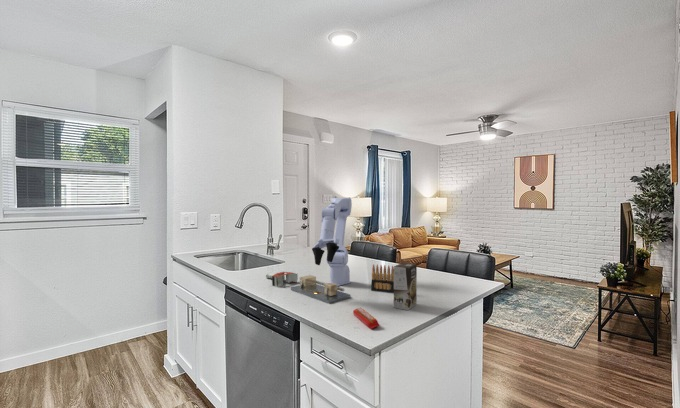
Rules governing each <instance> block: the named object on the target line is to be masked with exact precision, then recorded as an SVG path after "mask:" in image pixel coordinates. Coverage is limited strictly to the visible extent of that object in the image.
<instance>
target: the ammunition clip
mask: <svg viewBox="0 0 680 408" xmlns="http://www.w3.org/2000/svg"><path fill="white" fill-rule="evenodd" d="M383 265H384V266H382V264H380V267H379V265H378V264H376V266H375V264H372V268H371V284H370V285H371V286H370V288H371V289H370V291H371V292H380V293H392V294H394V265H392V266H391V268H390V265H388V266H387V267H386V264H383Z"/></svg>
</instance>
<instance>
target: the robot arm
mask: <svg viewBox="0 0 680 408" xmlns="http://www.w3.org/2000/svg"><path fill="white" fill-rule="evenodd" d="M330 202H331V203H330V204H329V205H327V207H324V209H323V208H322V210H321V221H320V222H321V228H320V235H319V238H318V239H317V242H316V244H314V245H313V247H312V248H311V250H312V253H313V256H314V263H315V265H317V266H321V264H322V263H321V261H322V258H323V255H324V253H325V252H326V263H327V265H328V266H329V281H326V282H325V283H334V284H337V287H340V286H343V285H347V284H351V283H352V281H350V280H351V279H350V276H351V275H350V267H349V265H348V262H349V252H348V249H347V248H346V247H345V246H344V243H345V242H344V241H345V233H346V224H347V219H348V217H349V216H350V215H351V213H352V204H353V203H352V198H351V197H335V196H334V197H332V198H331V200H330ZM323 248H326V251H325V250H324V249H323Z"/></svg>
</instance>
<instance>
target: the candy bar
mask: <svg viewBox="0 0 680 408" xmlns="http://www.w3.org/2000/svg"><path fill="white" fill-rule="evenodd" d="M352 313H353V315H354V316H355V317H356V318H357V319H358V320H359V321H360V322H361V323H362V324H363V325H365V326H366V327H367V328H368V329H370V330H373V329H375V328H377V327H380V323H379V321H378V319H376V318H375V316H373V315H372V314H370V313H369V312H368V311H366V310H365V309H364V308H362V307H357V308H354V309H353V312H352Z"/></svg>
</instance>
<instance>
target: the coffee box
mask: <svg viewBox="0 0 680 408" xmlns="http://www.w3.org/2000/svg"><path fill="white" fill-rule="evenodd" d="M393 267H394V293H393V308H394V309H400V310H405V311H410V310H412V309H413V308H414V307H415V306H416V305H417V303H418V301H417V297H418V295H417V293H418V291H417V290H418V289H417V286H418V285H417V281H418V279H417V276H418V274H417V273H418V272H417V270H418V269H417V268H418V267H417V263H408V262H401V263H399V264H395V265H393Z"/></svg>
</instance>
